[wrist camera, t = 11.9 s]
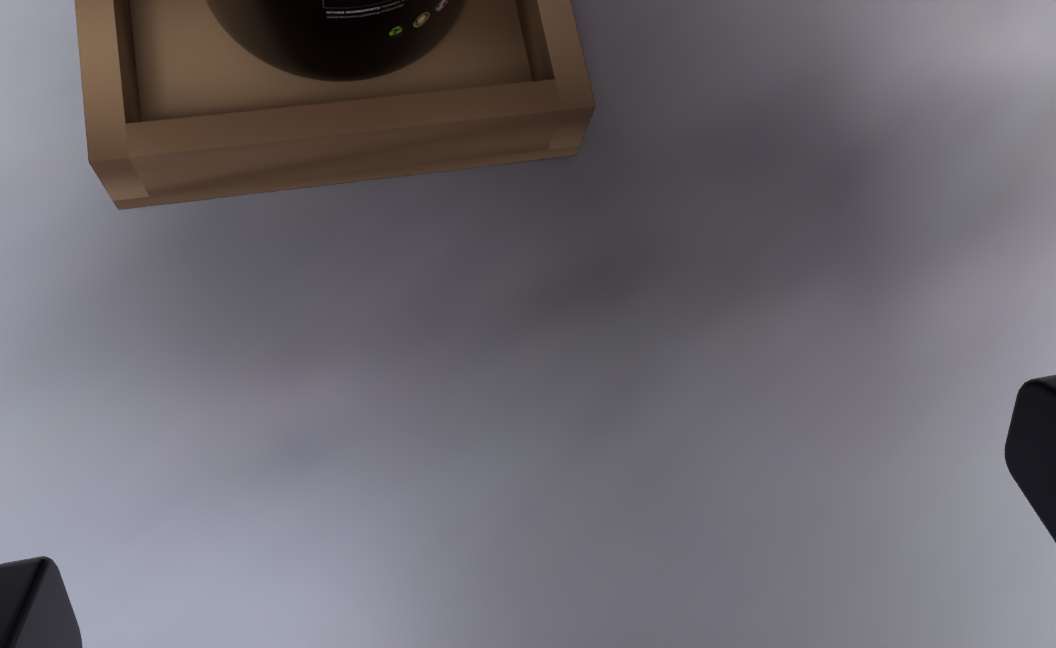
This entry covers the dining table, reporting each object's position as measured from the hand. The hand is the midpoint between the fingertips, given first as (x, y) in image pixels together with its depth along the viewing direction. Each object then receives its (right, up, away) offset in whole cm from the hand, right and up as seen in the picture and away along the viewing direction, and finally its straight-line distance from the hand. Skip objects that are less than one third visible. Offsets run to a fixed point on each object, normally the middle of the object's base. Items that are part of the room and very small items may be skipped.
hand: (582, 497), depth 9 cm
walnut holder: (-6, +10, +17) cm, 20 cm away
